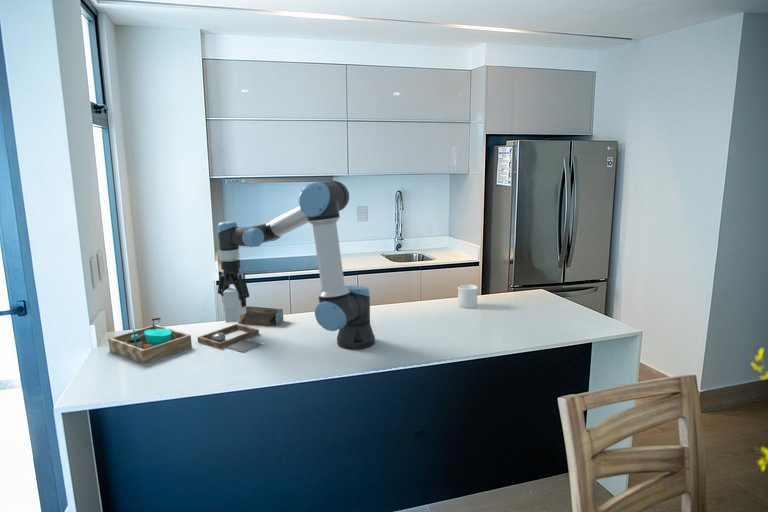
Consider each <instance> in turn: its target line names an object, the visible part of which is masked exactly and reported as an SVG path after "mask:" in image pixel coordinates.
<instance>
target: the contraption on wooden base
mask: <svg viewBox="0 0 768 512" xmlns="http://www.w3.org/2000/svg"><path fill="white" fill-rule="evenodd" d="M161 319H162V318H161V317H156V318H155V317H154V318H152V319H151V322H152V326H155V325H156V324H155V322H154V321H158V323H161V321H160V320H161ZM132 331H133V334H134V335H132V336H131V339H129V340H128V342H129V344H130V345H133V346H136V347H138V348H141V349H147V348H150V347H153V346H156V345H159V344H162V343H165V342H168V341H171V340H170V338H171V334H172V332H171V331H170V330H168V329H153V330H146V331H145V332H144V334H141V335H140V336H138V334H135V331H136V329H135V328H134V329H132ZM143 337H145V338H146V340H145V341H146V342H143V341H142V338H143ZM125 343H126V342H125Z"/></svg>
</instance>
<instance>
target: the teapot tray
mask: <svg viewBox="0 0 768 512" xmlns="http://www.w3.org/2000/svg"><path fill="white" fill-rule="evenodd" d="M153 329H168V330H170V331H171V332H172V334H171V338H170V340H171V341H168V342H165V343H162V344H159V345H156V346H153V347H150V348H147V349H141V348H138V347H136V346H133V345H130V344H129V342H128V340H129V339H131V336H132V335H134V334H133V330H132V331H130V332H126V333H125V332H124V333H122V334H118V335H117V336H113V337H109V338H108V347H109V351H110V352H111V353H115V354H118V355H121V356H123V357H125V358H128V359H130V360H134V361H137V362H138V363H141V364H144V365H145V364H148V363H150V362H151V363H152V362H154V361H157V360H159V359H162V358H165V357H167V356H170V355H173V354H177V353H179V352H182V351H184V350H189V349H191V348H192V347H193V346H192V335H191V334H189V333H185V332H182V331H178V330H176V329H171V328H170V327H169V328H168V327H165V326H161V325H158V324H155V326H153V325H150V326H146V327H143V328H140V329H135V334H138V336H140V335H141V334H144V332H145V331H146V330H153ZM145 341H147V340H146V338H145V337H143V338H142V342H145ZM125 342H126V343H125Z"/></svg>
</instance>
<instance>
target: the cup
mask: <svg viewBox="0 0 768 512" xmlns="http://www.w3.org/2000/svg"><path fill="white" fill-rule="evenodd" d="M457 289H458V293H457V305H458V307H459V308H461V309H475V308H477V306H478V289H479V288H478V286H477V285H475V284H469V283H468V284H461V285H459V286H457Z"/></svg>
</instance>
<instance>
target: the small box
mask: <svg viewBox="0 0 768 512" xmlns="http://www.w3.org/2000/svg"><path fill="white" fill-rule="evenodd" d="M223 297H224V308H225V311H224V315H225V316H224V319H225V323H238V322H241V321H242V319H243V318H244V317H245V314H243V315H240V309H239V299H240V297H239V295H238V291H237V290H236V288H235V286H234V287H232V286H231V287H230V286H229V288H227V289H226V290H225V291H224V292H223Z"/></svg>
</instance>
